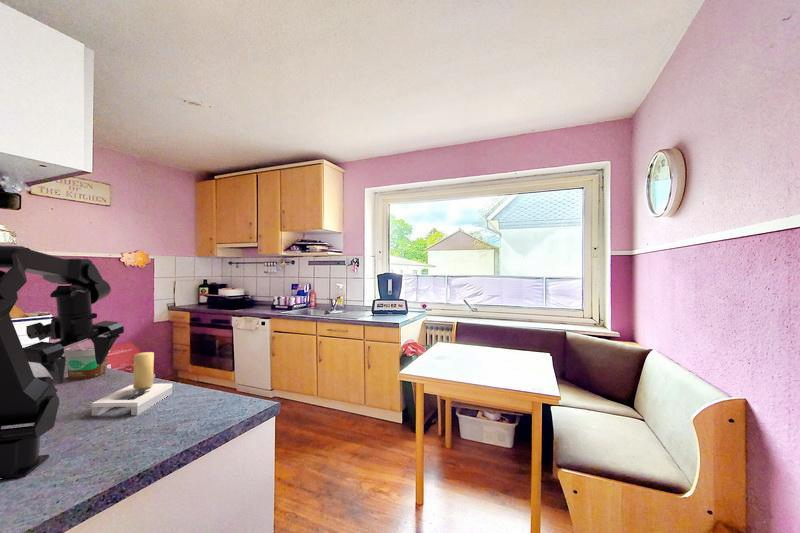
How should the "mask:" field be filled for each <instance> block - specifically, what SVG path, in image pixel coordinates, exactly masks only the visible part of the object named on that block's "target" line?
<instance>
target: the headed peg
mask: <svg viewBox="0 0 800 533" xmlns="http://www.w3.org/2000/svg"><path fill="white" fill-rule="evenodd" d="M154 361H155V352H154V351H153V352H152V351H146V352H145V351H144V352H138V353H135V354H134V355H133V380H132V381H133V388H136V389H138V394H135V395H134V396H133V398H132V400H134V399H136V398H138V397H140V396H142V395H144V394H145V390H147V389H148V387H150V386H152V385H153V384H154V366H155V365H154V363H155V362H154Z"/></svg>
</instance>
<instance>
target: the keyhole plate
mask: <svg viewBox="0 0 800 533" xmlns="http://www.w3.org/2000/svg"><path fill="white" fill-rule="evenodd" d="M135 394H138V389H136V388H133V384H130V385H128V386H126V387H123V388H121V389H119V390H117V391H115V392H113V393H111V394H108V395H106V396H104V397H102V398H100V399H98V400H95V401H93V402H91V416H92V417H93V416H95V417H96V416H97V417H98V416H100V415H101V414H104V413H105V412H106V413H107V412H108V411H110V410H112V409H113V408H115V407H116V408H120V407H121V408H123V407H125V408H129V407H130V408H131V410H130V412H131V413H130V415H131V416H139V415H140V414H141V413H143V412H145V411H147V410H149V409H150V408H152V407H153V406H155V405H157V404H158V403H160V402H162V401H163V400H165V399H167V398H168V397H170V396H172V395H173V383H153V385H152V386H150V387H148V389H147V390H145V394H144V395H142V396H140V397H138V398H136V399H134V400H133V398H132V397H133V396H134V395H135ZM171 394H172V395H171ZM169 395H170V396H169ZM167 396H168V397H167ZM166 397H167V398H166ZM130 398H131V399H130ZM164 398H165V399H164ZM128 399H129V400H128ZM162 399H163V400H162ZM161 400H162V401H161ZM159 401H160V402H159ZM157 402H158V403H157ZM156 403H157V404H156ZM154 404H155V405H154ZM151 406H152V407H151Z"/></svg>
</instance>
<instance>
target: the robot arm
mask: <svg viewBox="0 0 800 533" xmlns="http://www.w3.org/2000/svg"><path fill="white" fill-rule="evenodd" d="M0 269H5V270H8V271H3V270H0V478H9V477H11V478H9V479H13V478H12V477H16V478H20V477H21V478H22V477H25V476H28V474H30V473H31V472H33V470H35V469H36V468H37V467H39V466H40V465H41V464H43V463H44V462H45V461H46V460H48V459H49V458H50V454H41V455H40V446H41V444H40V441H41V436H43V435H44V434H45V433H47V432H49V431H50V430H52V429H53V428H54V427H55V423H56V420H57V415H58V411H59V407H60V398H59V396H58V394H57V392H58V391H59V390H58V389H57V387H56V386H55V384H54V381H55V383H56V384H61V383H63V381H64V377H65V370H66V368H65V367H66V363H67V358H66V357H65V356H63V355H64V352H65V349H66V348H70V347H72V346H75V345H77V344H80V343H83V342H86V341H88V340H91V342H92V344H93V348H94V350H95V359H96V363H97V364H98V365H101V364H102V363H103V361H104V359H105V358H106V356H107V354H109V353H110V352H109V350H110V351H111V349H112V348H113V346H114V344H115V342H116V341H117V339H119V338H120V336H121V334H124V333H125V330H124V329H125V327H124V325H123V324H122V323H121V322H120V321H111V320H103V321H99V322H96V323H93V321H94V319H97V318H98V313H96V312H95V313H94V312H93V308H92V305H93V304H96V303H97V302H99V301H101V300H103V299H105V298H106V297H108V296H109V295H110V293H111V290H112V288H111V286H110V284H109V283H108V282H107V281H106V280H105V279H103V276H102V275H101V273H100V271H99V270H98V269H97V267H96V264H94V263H93V261H92V260H91V259H89V258H68V257H59V256H55V255H51V254H47V253H44V252H40V251H36V250H34V249H33V250H32V249H30V248H29V247H25V246H23V245H0ZM27 273H28V274H34V275H38V276H39V275H40V276H42V279H43V280H45V281H47V282H48V283H49V282H50V283H52V284H57V285H58V286H56V288H55V289H54V290H53V291H52V292H51V293H50V295H49V296H50V298H55V302H56V311H57V312H56V314H57V315H55V316H52V318H51V322H50V323H46V324H43V323H42V322H36V323H32V324H29V325H26V335H27V337H28V338H29V339H30V340H33V339H38V340H39V342H35V343H33V344H30V345H28V346H27V345H26V346H24V347H23V345H22V343H21V341H20V337H19V335H18V333H17V330H16V328H15V326H14V323H13V320H12V317H11V314H10V313H11V311H12V310H13V308H14V306H15V305H16V303H17V302H18V301H19V300H18V298H19V297H18V292H19V291H20V290H21V289H22V288H23V286H25V285H26V284H27V282H28V279H27V275H26V274H27ZM47 338H50V339H51V340H59V341H56V342H49V341H43V340H45V339H47ZM107 357H108V356H107ZM30 363H35V364H40V365H41V366H42V367H43V368H44V369H45V370H46V371H47V372H48V374H49V375H50V376H38V377H36V376H35V375H34V372H33V370H32V368H31V365H30ZM26 424H27V426H26ZM28 424H33V425H28ZM16 425H17V427H11V426H16ZM19 425H25V426H19ZM7 426H10V428H9V427H8V428H2V427H7ZM18 426H19V427H18Z"/></svg>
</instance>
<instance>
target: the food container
mask: <svg viewBox="0 0 800 533" xmlns="http://www.w3.org/2000/svg"><path fill="white" fill-rule="evenodd" d="M109 353H111V349H110V350H109V352H108V354H109ZM108 354H107V356H106V358H105V359H104V361H103V363H102V364H101V365H98V364H97V363H96V359H95V350H94V347H86V348H81V349H70V347H67V348H65V349H64V354H63V355H62V356H63V357H66V365H67V377H68V380H69V381H75V380H76V381H85V379H87V380H91V378H92V379H96V378H95V377H97V378H99V377H98V376H100V377H102V376H101V375H103V374H105V375H106V371H107V370H106V368H107V363H108V356H109V355H108ZM103 376H104V375H103Z"/></svg>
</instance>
